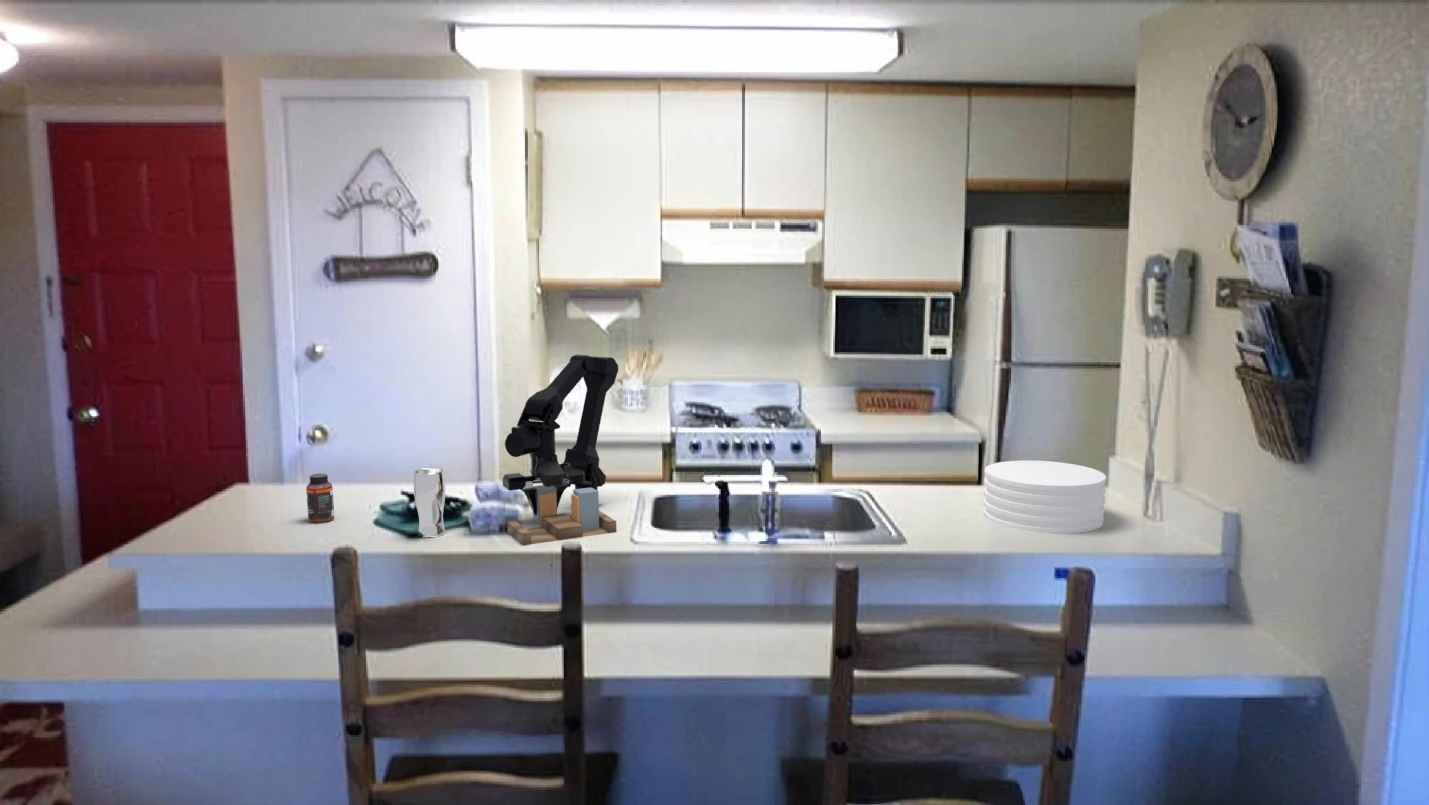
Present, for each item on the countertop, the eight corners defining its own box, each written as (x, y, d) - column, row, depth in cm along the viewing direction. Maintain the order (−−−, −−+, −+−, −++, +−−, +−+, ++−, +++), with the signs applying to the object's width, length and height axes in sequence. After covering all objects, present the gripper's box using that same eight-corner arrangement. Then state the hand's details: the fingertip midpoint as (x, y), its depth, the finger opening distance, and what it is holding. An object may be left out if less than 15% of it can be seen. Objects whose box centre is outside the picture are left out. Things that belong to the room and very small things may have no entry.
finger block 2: (571, 527, 227) (570, 489, 226) (592, 524, 230) (591, 487, 228) (578, 532, 223) (577, 494, 222) (599, 529, 226) (598, 491, 224)
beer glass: (419, 539, 221) (416, 475, 219) (413, 532, 227) (410, 469, 225) (450, 535, 224) (447, 472, 222) (443, 528, 230) (440, 466, 228)
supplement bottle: (340, 518, 239) (337, 473, 237) (321, 524, 234) (318, 478, 232) (322, 516, 242) (319, 471, 240) (302, 522, 236) (299, 476, 235)
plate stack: (1109, 511, 245) (1112, 467, 243) (1095, 540, 220) (1098, 490, 219) (996, 499, 258) (998, 456, 256) (970, 524, 234) (972, 477, 232)
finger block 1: (551, 520, 237) (550, 484, 236) (558, 525, 233) (557, 488, 232) (533, 522, 235) (532, 486, 234) (540, 527, 231) (538, 490, 230)
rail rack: (507, 536, 224) (507, 521, 224) (597, 523, 234) (597, 509, 234) (523, 549, 214) (522, 534, 213) (616, 535, 224) (616, 521, 223)
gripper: (514, 459, 220) (517, 526, 223) (592, 451, 229) (593, 516, 231) (500, 451, 230) (503, 515, 232) (575, 443, 239) (577, 505, 241)
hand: (545, 513), depth 234 cm, fingers closed on finger block 1, 4 cm apart
